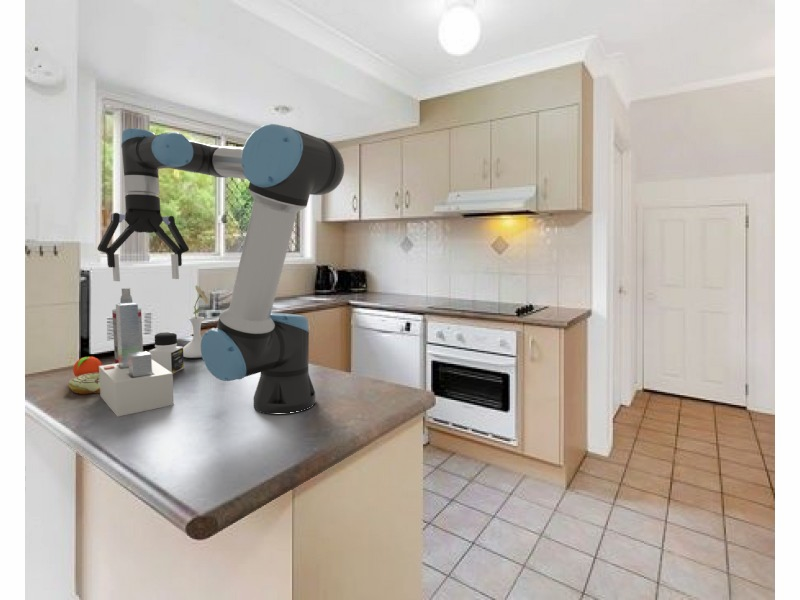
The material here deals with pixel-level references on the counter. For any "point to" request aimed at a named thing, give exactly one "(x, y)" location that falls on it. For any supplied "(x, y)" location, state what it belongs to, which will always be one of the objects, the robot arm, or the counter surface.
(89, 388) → the decorated donut
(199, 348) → the flower in vase
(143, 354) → the grey square peg
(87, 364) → the clementine
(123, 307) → the upper square grey bar
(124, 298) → the spray bottle
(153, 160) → the robot arm
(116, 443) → the counter surface
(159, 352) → the medicine bottle
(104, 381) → the housing
